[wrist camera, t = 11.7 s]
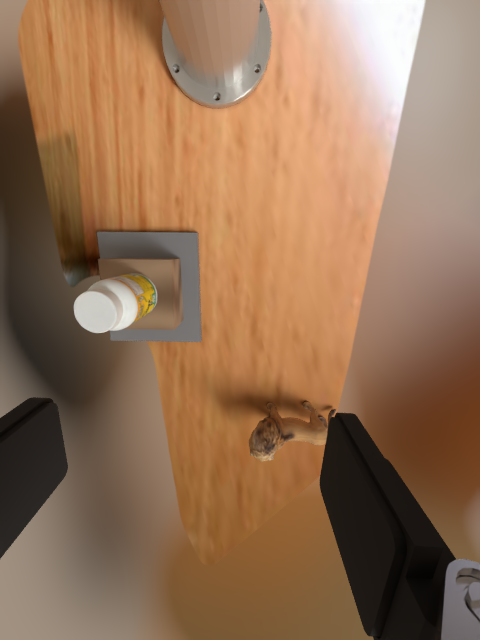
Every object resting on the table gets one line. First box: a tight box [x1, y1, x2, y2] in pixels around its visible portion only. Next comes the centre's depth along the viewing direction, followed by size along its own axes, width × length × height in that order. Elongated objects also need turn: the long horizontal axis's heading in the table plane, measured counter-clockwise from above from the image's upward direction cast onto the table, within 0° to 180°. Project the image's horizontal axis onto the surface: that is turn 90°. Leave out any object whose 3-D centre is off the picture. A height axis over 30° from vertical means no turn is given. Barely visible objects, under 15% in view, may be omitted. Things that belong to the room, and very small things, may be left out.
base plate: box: [97, 232, 202, 342], centre depth 38 cm, size 16×14×1 cm
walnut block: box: [98, 258, 184, 330], centre depth 35 cm, size 9×9×5 cm
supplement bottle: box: [74, 273, 157, 333], centre depth 28 cm, size 5×5×10 cm
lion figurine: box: [249, 401, 336, 462], centre depth 39 cm, size 15×5×9 cm, turn 99°
